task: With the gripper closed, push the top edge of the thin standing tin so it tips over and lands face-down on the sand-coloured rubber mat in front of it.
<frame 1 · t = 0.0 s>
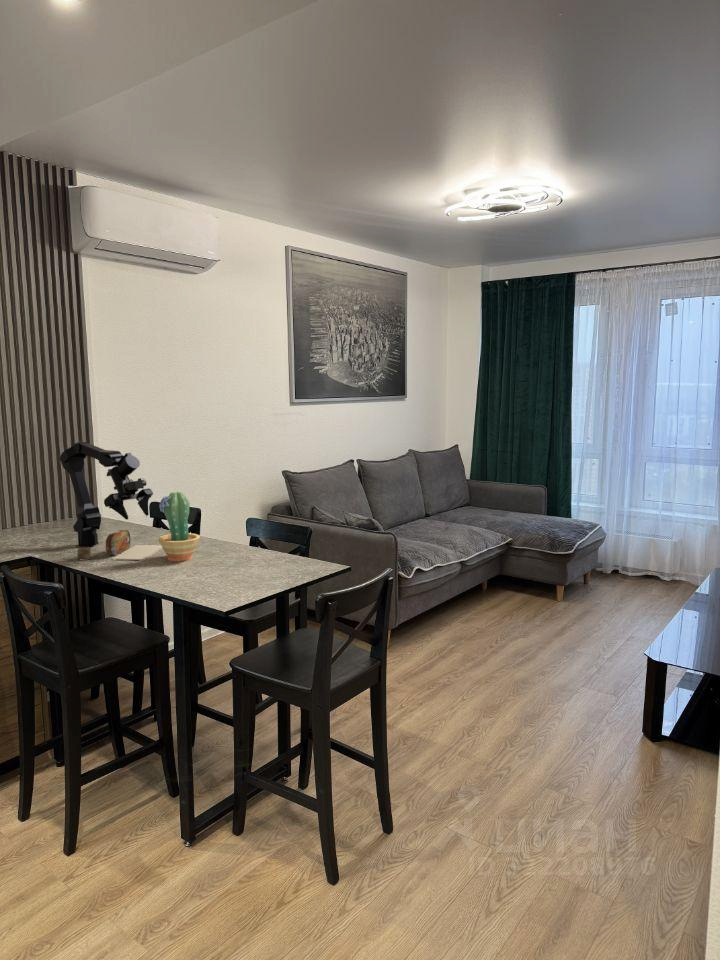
hand: (137, 517, 248), 15 cm above the counter, tool tilted 35°, fingers open, 9 cm apart
mat: (139, 553, 254), on the counter
walnut block: (84, 559, 246), on the counter
tin: (117, 553, 255), on the counter
potted cactus: (180, 558, 247), on the counter
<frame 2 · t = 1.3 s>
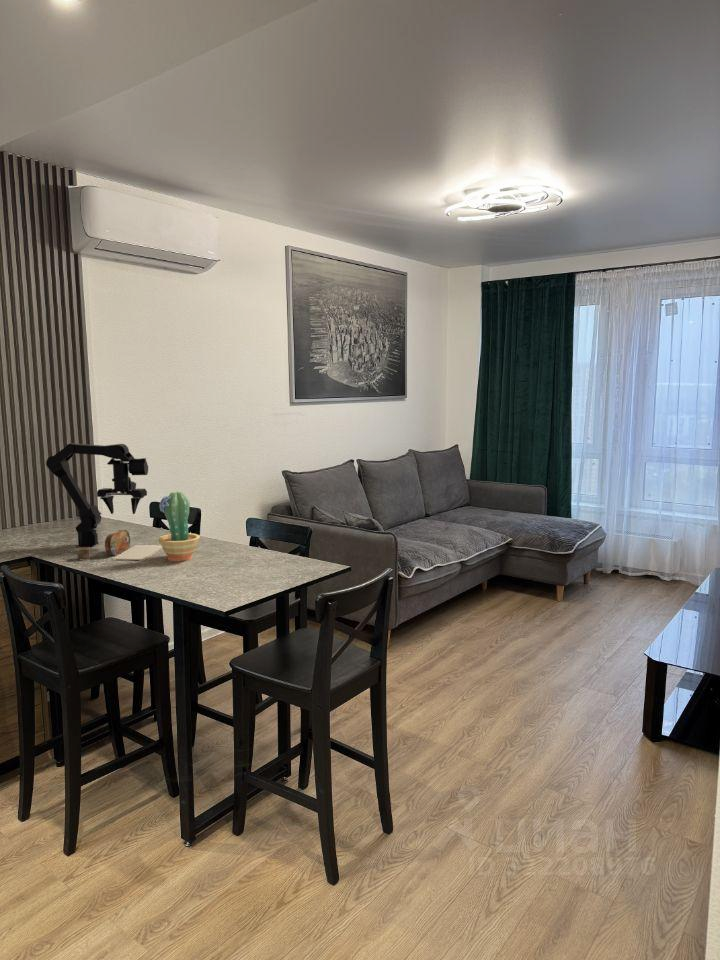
hand: (123, 513, 266), 13 cm above the counter, tool pointing down, fingers open, 9 cm apart
nothing on the counter moved.
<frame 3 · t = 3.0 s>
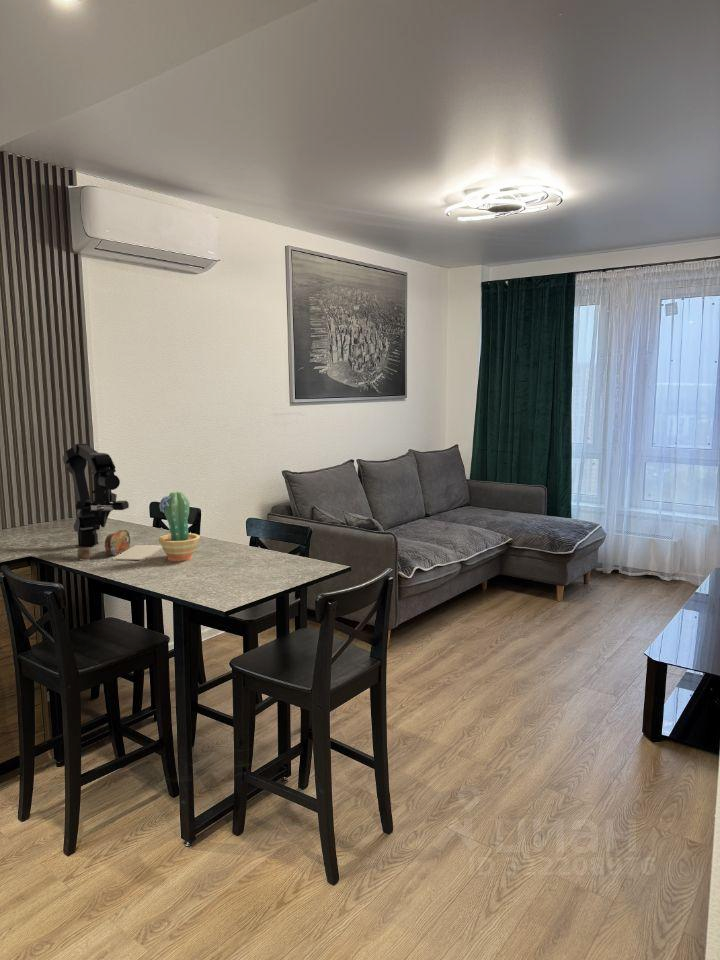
hand: (103, 527, 254), 10 cm above the counter, tool pointing down, fingers closed
nothing on the counter moved.
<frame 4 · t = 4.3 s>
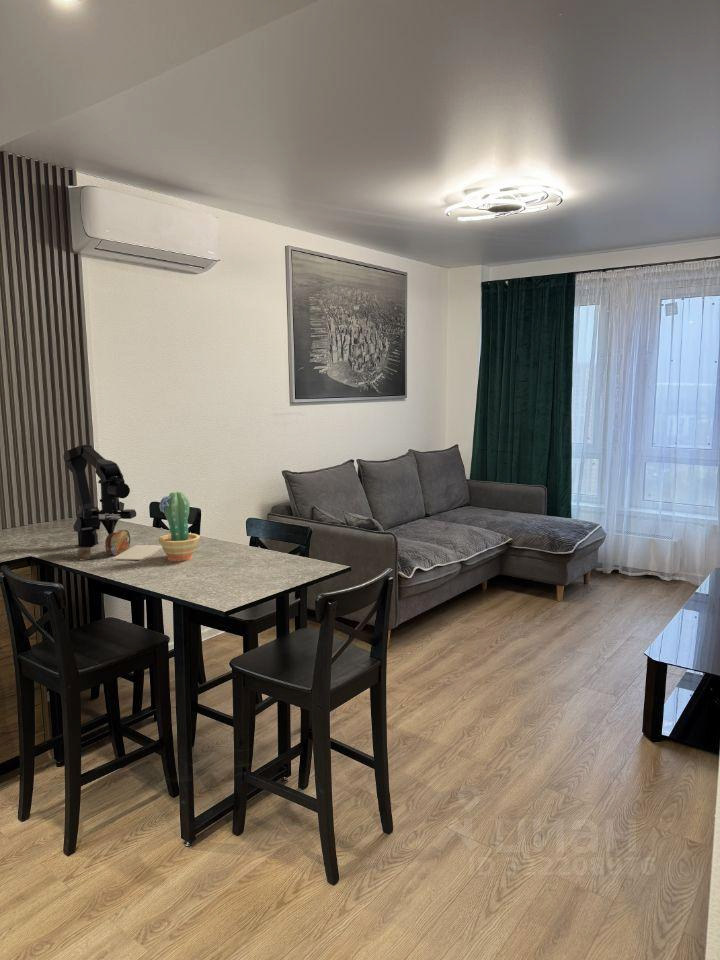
hand: (110, 535, 254), 7 cm above the counter, tool pointing down, fingers closed
tin: (117, 553, 255), on the counter, touching gripper
everything else where it was.
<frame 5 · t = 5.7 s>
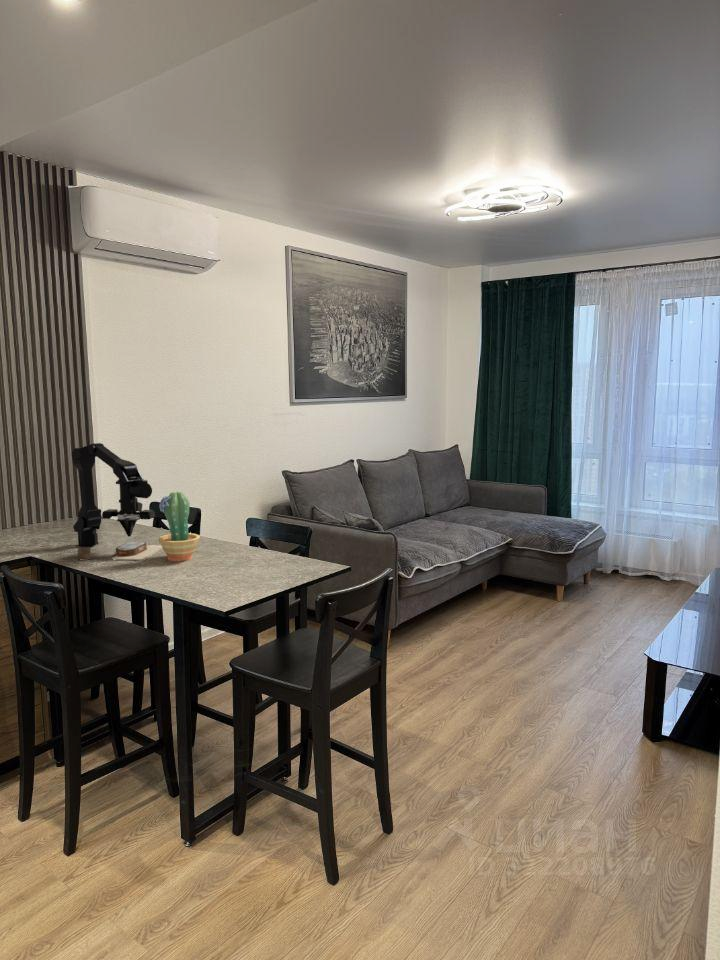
hand: (129, 536, 254), 7 cm above the counter, tool pointing down, fingers closed
tin: (120, 547, 254), point 2 cm above the counter, touching mat
everything else where it was.
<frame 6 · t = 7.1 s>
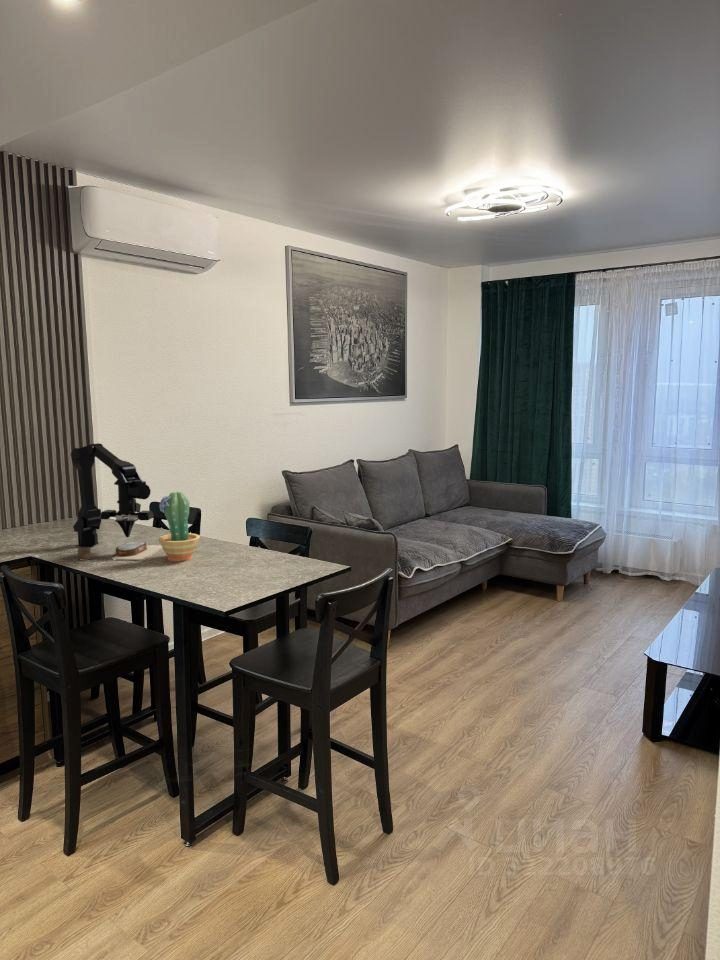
hand: (127, 537, 254), 6 cm above the counter, tool pointing down, fingers closed
nothing on the counter moved.
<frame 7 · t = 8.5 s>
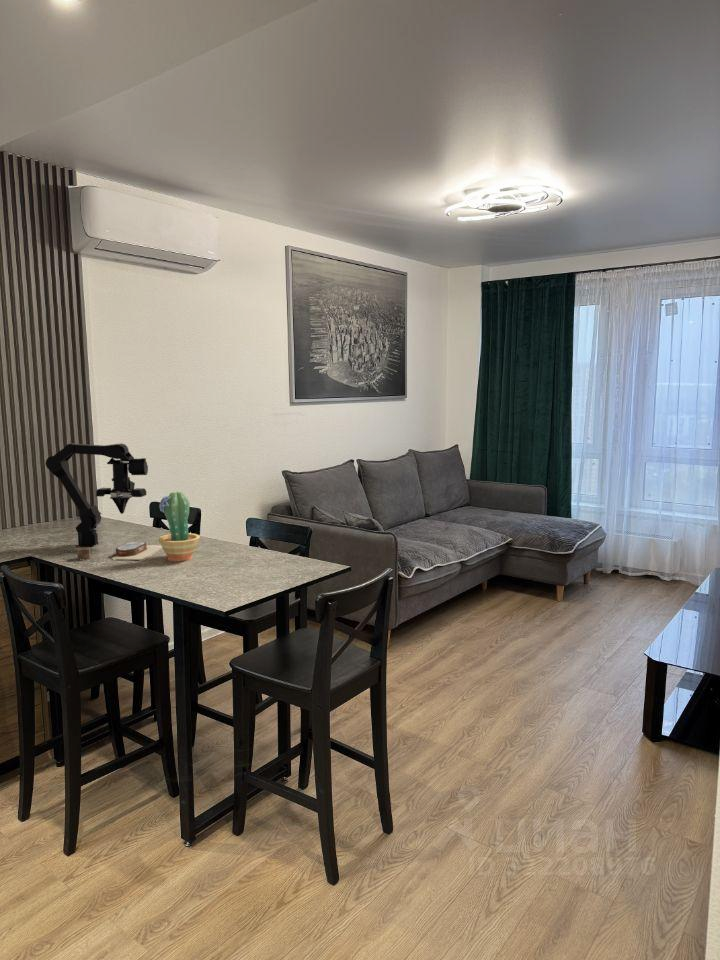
hand: (122, 513, 266), 13 cm above the counter, tool pointing down, fingers closed
nothing on the counter moved.
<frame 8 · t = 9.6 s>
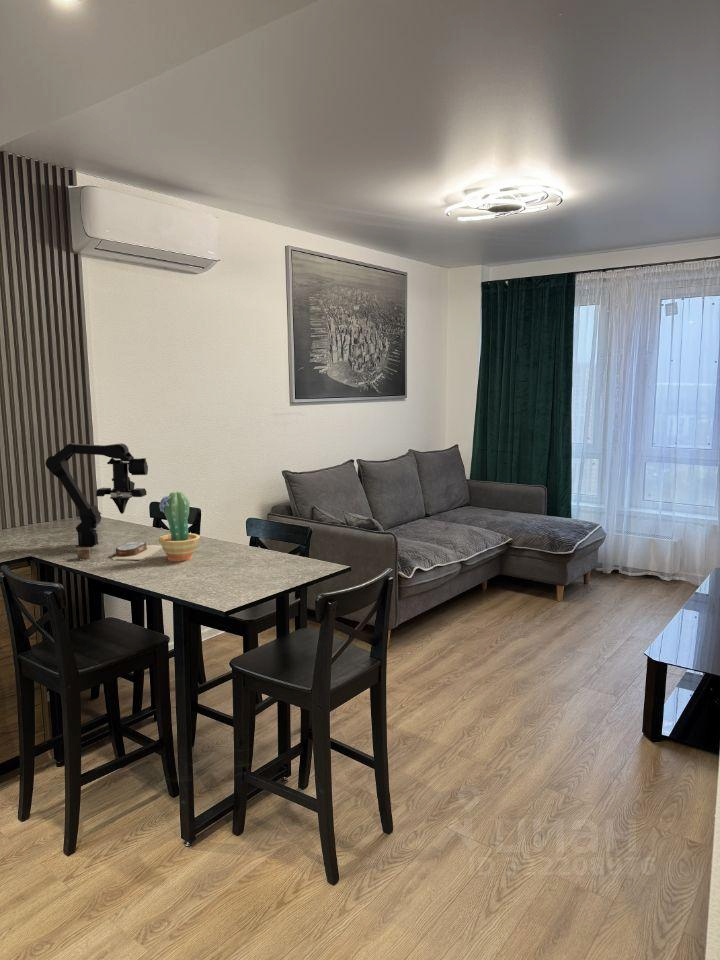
hand: (122, 513, 266), 13 cm above the counter, tool pointing down, fingers closed
nothing on the counter moved.
at the end: tin tilted 94°; tin inside the target area (5.3 cm from its centre), point 2.2 cm above the counter; walnut block moved 0.1 cm from its start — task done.
